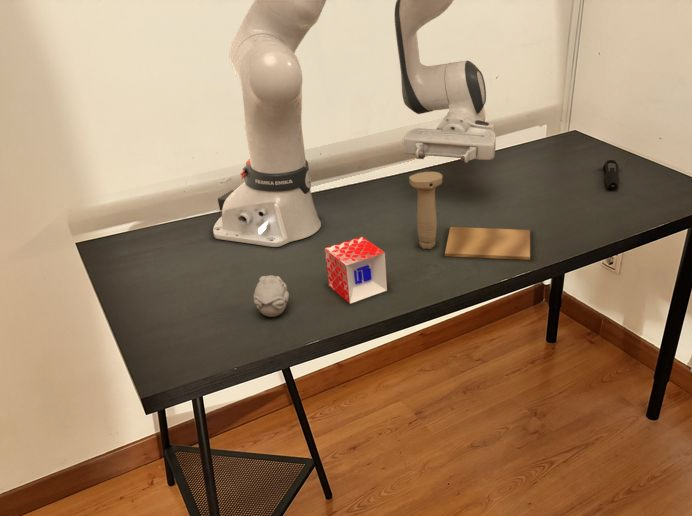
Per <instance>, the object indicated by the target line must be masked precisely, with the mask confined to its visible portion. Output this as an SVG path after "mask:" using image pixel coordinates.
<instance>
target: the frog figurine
mask: <svg viewBox="0 0 692 516" xmlns="http://www.w3.org/2000/svg"><path fill="white" fill-rule="evenodd" d="M258 280H259V282H257V283H256V285H255V286H256V287H255V289H254V293H253V303H254V305H255V306H256V309H258V311H259V313H261V314H262V315H264V316H266V317H270V318H274V317H275V318H276V317H278V316H280V315H281V314H283V312H284V311H285V309H286V306H287V304H288V303H289V297H290V294H289V291H288V288H287V284H286V283H285V282H284V281H283V280H282V278H281V277H280V276H278V275H272V274H271V275H270V274H269V275H262V276H260V277H259V279H258Z"/></svg>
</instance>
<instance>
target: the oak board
mask: <svg viewBox="0 0 692 516" xmlns="http://www.w3.org/2000/svg"><path fill="white" fill-rule="evenodd" d="M444 257H450V258H451V257H452V258H474V259H496V260H497V259H498V260H499V259H500V260H519V261H530V260H531V230H530V229H517V228H516V229H515V228H513V229H512V228H491V227H490V228H489V227H463V226H450V227H449V231H448V237H447V241H446V246H445V251H444Z"/></svg>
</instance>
